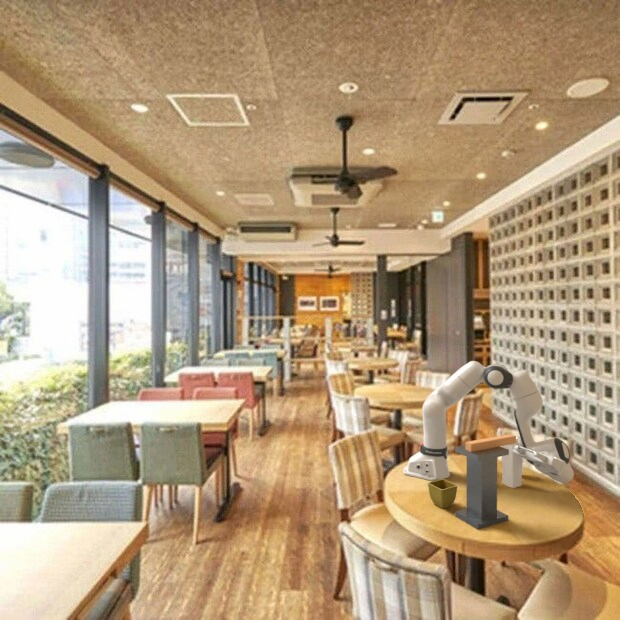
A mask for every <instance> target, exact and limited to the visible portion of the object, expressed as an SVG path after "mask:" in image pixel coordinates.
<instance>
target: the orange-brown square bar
mask: <svg viewBox="0 0 620 620" xmlns="http://www.w3.org/2000/svg"><path fill="white" fill-rule="evenodd" d="M516 438H517V436H516V435H513V434H511V433H508V434H504V435H497V436H493V437H485V438H481V439H474V440H470V441H465V444H464V445H465V450H468V451H470V452H473V451H478V450H484V449H489V448H494V447H499V446H500V447H502V446H504V445H510V444H515V443H516Z"/></svg>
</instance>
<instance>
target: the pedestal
mask: <svg viewBox="0 0 620 620" xmlns="http://www.w3.org/2000/svg"><path fill="white" fill-rule="evenodd" d="M454 447H455V449H454V451H455V453H457V454H460V455H462V456H465V457H466V502H465V503H466V504H465V505H466V508H462V509H460V510H455V512H454V516H455V517H456V518H457V519H459V520H461V521H463V523H464V522H465V523H466V524H467V525H469V526H471V527H473V528H474V529H476V530H481V529H484V528H488V527H492V526H496V525H499V524H502V523H505V522H509V518H510V517H509V515H508V514H506V513H504V512H502V511H500V510H498V458H499V457H502V456H505V455H509V450H508V449H506V448H503V447H502V446H499V447H494V448H489V449H484V450H478V451H473V452H470V451H468V450H465V444H463V445H457V446H454Z"/></svg>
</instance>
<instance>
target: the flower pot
mask: <svg viewBox="0 0 620 620" xmlns="http://www.w3.org/2000/svg"><path fill="white" fill-rule="evenodd" d="M427 487H428V493H429V497H430V499H431V501H432V503H433V504H434V506H435V505H436V506H438V507H439V508H441V509H446V508H448V507H451V506H452V505H453V504H454V503H455V501H456V498H457V492H458V491H457V490H458V485H457V484H454V483H453V482H451V481H448V480H447V479H438V480H434V481H429V482H427Z"/></svg>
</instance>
